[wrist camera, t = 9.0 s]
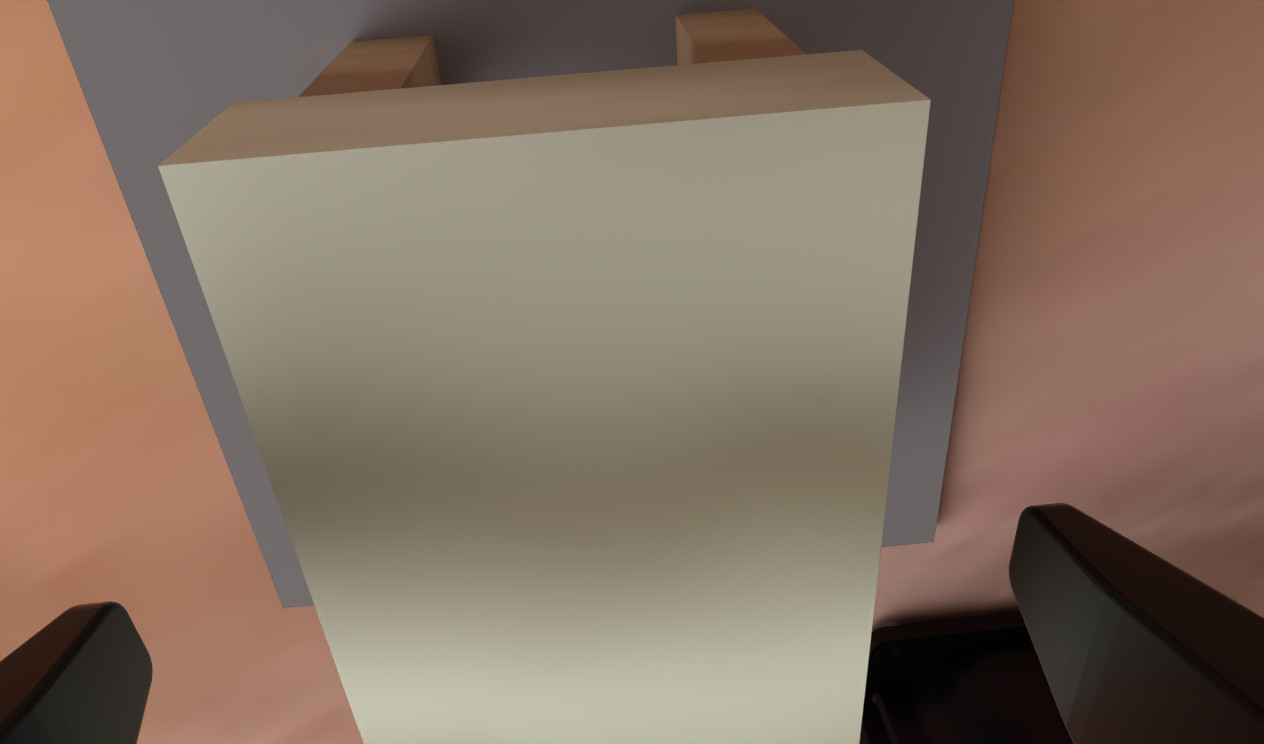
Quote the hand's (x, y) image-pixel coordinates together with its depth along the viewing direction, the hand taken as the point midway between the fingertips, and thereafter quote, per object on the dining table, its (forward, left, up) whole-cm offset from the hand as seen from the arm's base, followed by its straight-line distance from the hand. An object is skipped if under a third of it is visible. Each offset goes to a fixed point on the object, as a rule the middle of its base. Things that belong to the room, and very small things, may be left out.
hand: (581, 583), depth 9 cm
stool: (0, 0, -7) cm, 7 cm away
